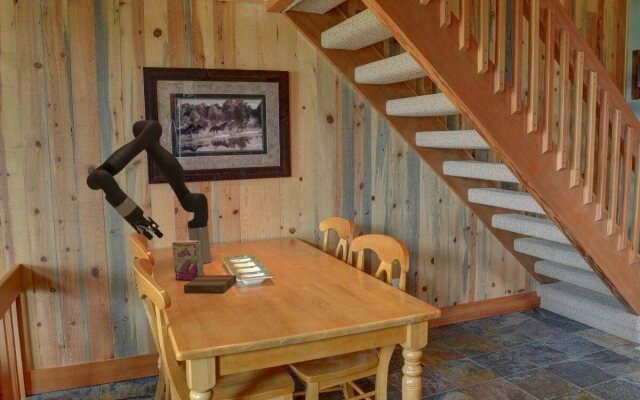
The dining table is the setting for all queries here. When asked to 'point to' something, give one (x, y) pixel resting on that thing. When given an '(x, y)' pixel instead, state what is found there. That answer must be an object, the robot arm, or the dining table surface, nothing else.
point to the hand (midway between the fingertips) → (156, 237)
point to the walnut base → (210, 284)
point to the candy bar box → (187, 259)
